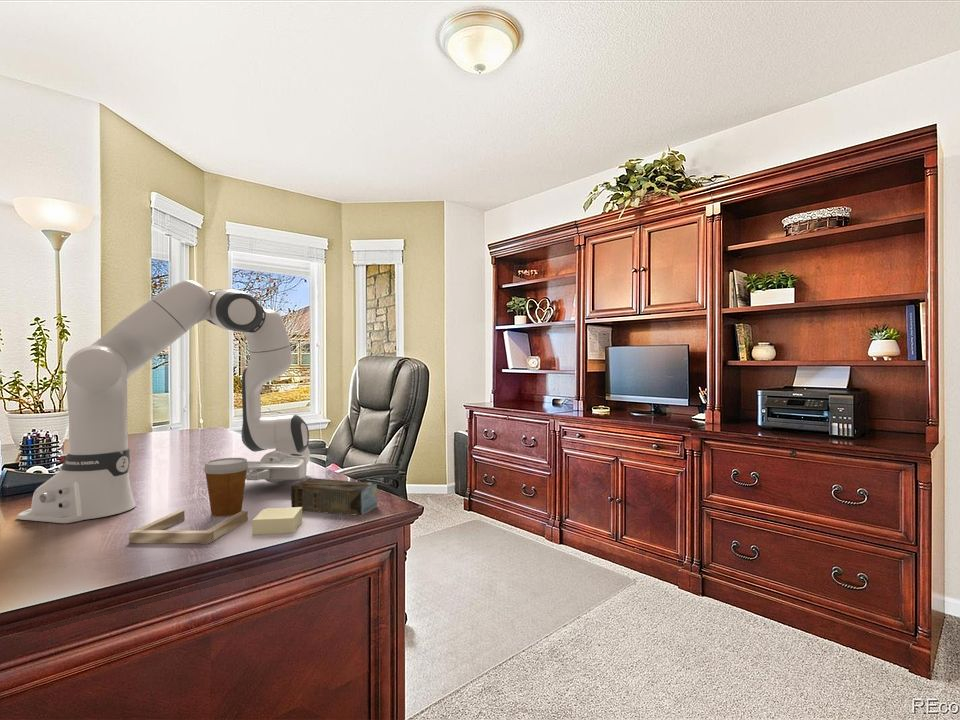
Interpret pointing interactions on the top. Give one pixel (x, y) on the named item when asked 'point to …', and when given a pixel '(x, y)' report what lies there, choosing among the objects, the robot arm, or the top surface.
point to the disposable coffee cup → (226, 485)
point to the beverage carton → (334, 496)
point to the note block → (277, 520)
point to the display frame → (158, 535)
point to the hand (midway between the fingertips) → (252, 477)
